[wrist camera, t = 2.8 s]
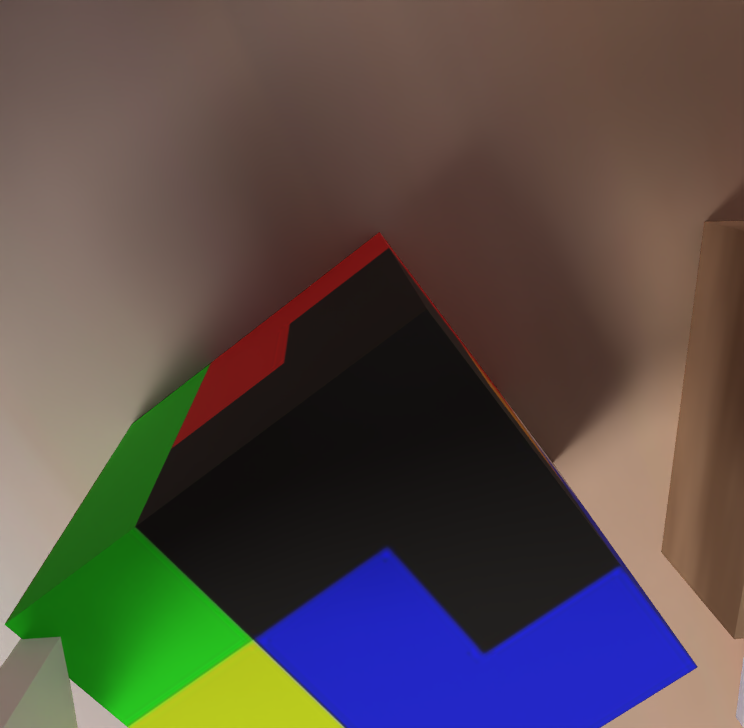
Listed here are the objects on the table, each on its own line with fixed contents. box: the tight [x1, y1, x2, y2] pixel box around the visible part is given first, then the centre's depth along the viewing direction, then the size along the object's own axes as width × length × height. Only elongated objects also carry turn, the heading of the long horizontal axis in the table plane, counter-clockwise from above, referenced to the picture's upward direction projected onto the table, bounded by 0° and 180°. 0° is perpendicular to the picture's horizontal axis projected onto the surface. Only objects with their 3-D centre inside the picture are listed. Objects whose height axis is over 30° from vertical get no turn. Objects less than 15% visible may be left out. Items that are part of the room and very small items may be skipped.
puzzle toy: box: [5, 232, 697, 728], centre depth 19 cm, size 10×10×10 cm
